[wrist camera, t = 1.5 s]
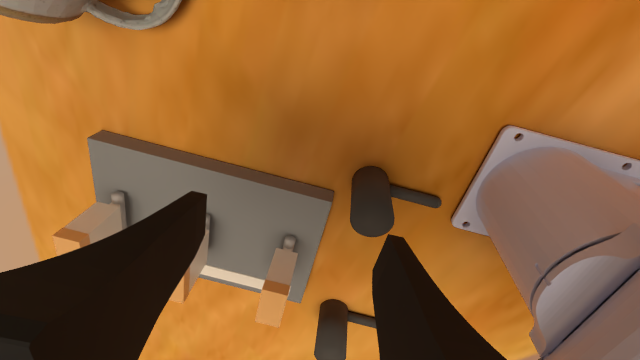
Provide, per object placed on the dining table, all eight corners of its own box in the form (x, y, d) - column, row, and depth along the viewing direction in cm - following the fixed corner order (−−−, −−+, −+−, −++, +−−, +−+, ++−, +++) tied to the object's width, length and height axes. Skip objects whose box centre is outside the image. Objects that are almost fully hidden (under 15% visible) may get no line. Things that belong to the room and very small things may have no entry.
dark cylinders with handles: (457, 188, 23) (477, 228, 19) (379, 330, 31) (382, 378, 27) (357, 162, 22) (357, 196, 18) (307, 311, 31) (299, 357, 27)
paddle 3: (131, 194, 24) (78, 240, 19) (134, 231, 26) (86, 280, 21) (110, 188, 24) (51, 233, 19) (114, 225, 26) (61, 274, 21)
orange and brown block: (217, 216, 24) (184, 267, 19) (214, 251, 26) (183, 305, 21) (195, 211, 24) (157, 260, 19) (194, 246, 26) (158, 299, 21)
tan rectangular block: (301, 238, 24) (288, 294, 20) (292, 271, 26) (278, 329, 21) (280, 233, 24) (262, 287, 20) (273, 266, 26) (254, 323, 21)
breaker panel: (333, 191, 24) (332, 203, 22) (303, 289, 29) (300, 304, 28) (102, 130, 23) (86, 138, 22) (115, 241, 29) (103, 254, 27)
